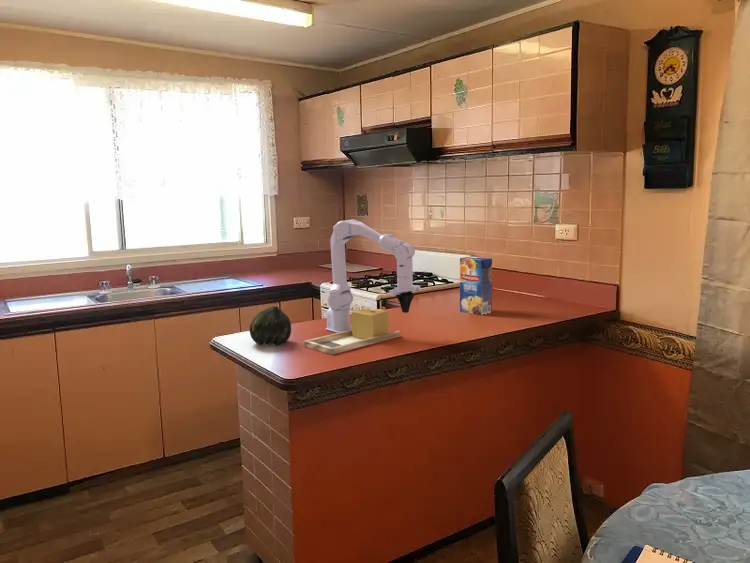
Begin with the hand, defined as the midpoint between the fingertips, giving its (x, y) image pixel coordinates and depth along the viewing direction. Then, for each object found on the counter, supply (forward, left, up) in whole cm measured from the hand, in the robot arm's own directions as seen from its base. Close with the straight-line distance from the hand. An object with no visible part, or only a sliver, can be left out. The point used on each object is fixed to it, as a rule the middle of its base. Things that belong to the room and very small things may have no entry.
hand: (405, 312), depth 226 cm
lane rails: (-11, -16, -10) cm, 22 cm away
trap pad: (-11, -28, -10) cm, 32 cm away
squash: (-31, -39, -10) cm, 51 cm away
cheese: (-11, -8, -10) cm, 17 cm away
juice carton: (-8, +53, -10) cm, 54 cm away
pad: (-11, -17, -10) cm, 23 cm away
